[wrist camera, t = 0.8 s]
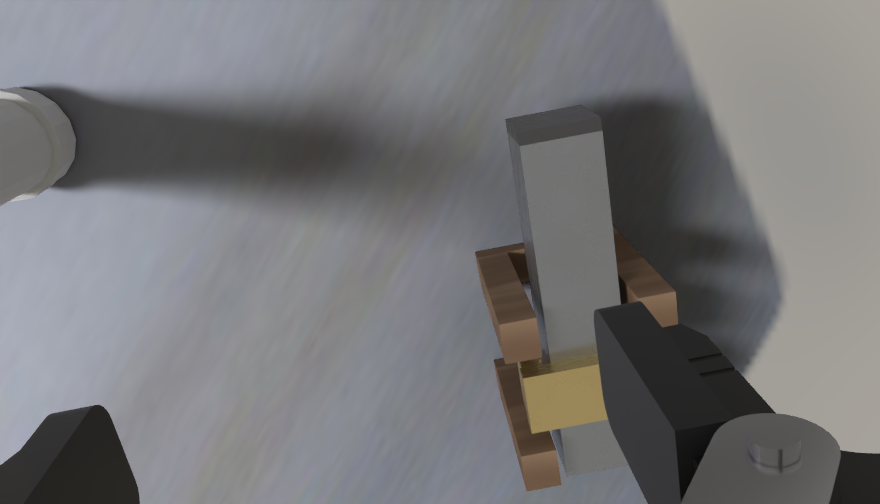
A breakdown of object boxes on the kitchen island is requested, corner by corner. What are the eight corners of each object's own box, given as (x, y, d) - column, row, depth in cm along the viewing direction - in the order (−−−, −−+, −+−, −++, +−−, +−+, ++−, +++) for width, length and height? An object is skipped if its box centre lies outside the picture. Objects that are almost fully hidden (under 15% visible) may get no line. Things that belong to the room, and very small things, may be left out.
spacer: (513, 349, 38) (523, 378, 35) (643, 324, 37) (663, 351, 35) (521, 401, 38) (531, 433, 36) (648, 377, 38) (668, 407, 36)
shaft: (505, 119, 35) (517, 132, 32) (580, 104, 35) (601, 116, 32) (552, 436, 41) (567, 476, 38) (617, 424, 41) (637, 463, 38)
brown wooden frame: (475, 252, 43) (498, 324, 33) (613, 225, 43) (675, 291, 33) (498, 388, 46) (526, 491, 36) (627, 364, 46) (689, 460, 36)
